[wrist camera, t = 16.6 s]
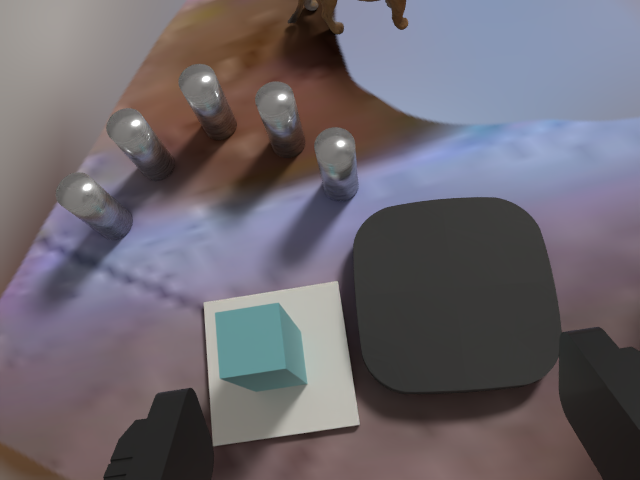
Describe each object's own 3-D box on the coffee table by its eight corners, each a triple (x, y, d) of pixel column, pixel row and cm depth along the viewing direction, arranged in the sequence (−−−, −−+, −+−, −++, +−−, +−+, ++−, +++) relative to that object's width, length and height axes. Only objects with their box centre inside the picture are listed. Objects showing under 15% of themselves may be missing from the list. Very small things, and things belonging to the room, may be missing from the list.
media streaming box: (364, 398, 42) (362, 396, 39) (350, 220, 47) (348, 206, 44) (562, 386, 41) (576, 382, 38) (527, 204, 46) (536, 189, 43)
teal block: (301, 331, 43) (278, 302, 34) (307, 383, 42) (286, 368, 33) (250, 339, 44) (214, 312, 34) (255, 391, 42) (219, 378, 33)
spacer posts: (341, 90, 51) (335, 38, 44) (361, 198, 47) (357, 159, 41) (99, 133, 52) (59, 89, 46) (99, 242, 48) (55, 211, 42)
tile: (338, 282, 45) (337, 281, 44) (360, 424, 41) (359, 424, 41) (205, 304, 45) (203, 302, 45) (214, 446, 42) (212, 446, 41)
